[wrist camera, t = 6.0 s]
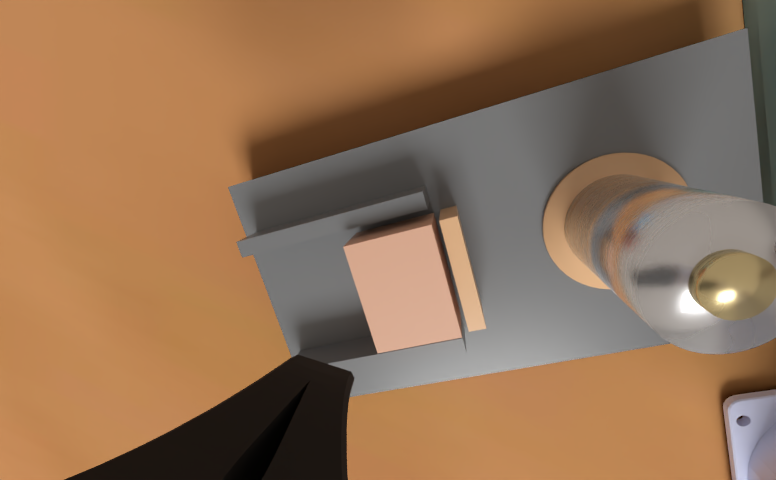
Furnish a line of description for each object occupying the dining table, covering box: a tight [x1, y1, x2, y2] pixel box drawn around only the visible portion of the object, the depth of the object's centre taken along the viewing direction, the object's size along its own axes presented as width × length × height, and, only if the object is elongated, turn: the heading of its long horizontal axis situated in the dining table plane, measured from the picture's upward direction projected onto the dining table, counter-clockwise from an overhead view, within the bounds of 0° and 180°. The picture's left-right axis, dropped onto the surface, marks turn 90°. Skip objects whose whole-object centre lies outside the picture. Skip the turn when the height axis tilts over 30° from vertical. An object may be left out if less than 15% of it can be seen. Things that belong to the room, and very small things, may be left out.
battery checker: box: [228, 28, 763, 397], centre depth 15 cm, size 10×18×4 cm, turn 106°
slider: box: [343, 213, 462, 353], centre depth 14 cm, size 4×3×2 cm
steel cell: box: [564, 174, 776, 354], centre depth 11 cm, size 3×3×6 cm
